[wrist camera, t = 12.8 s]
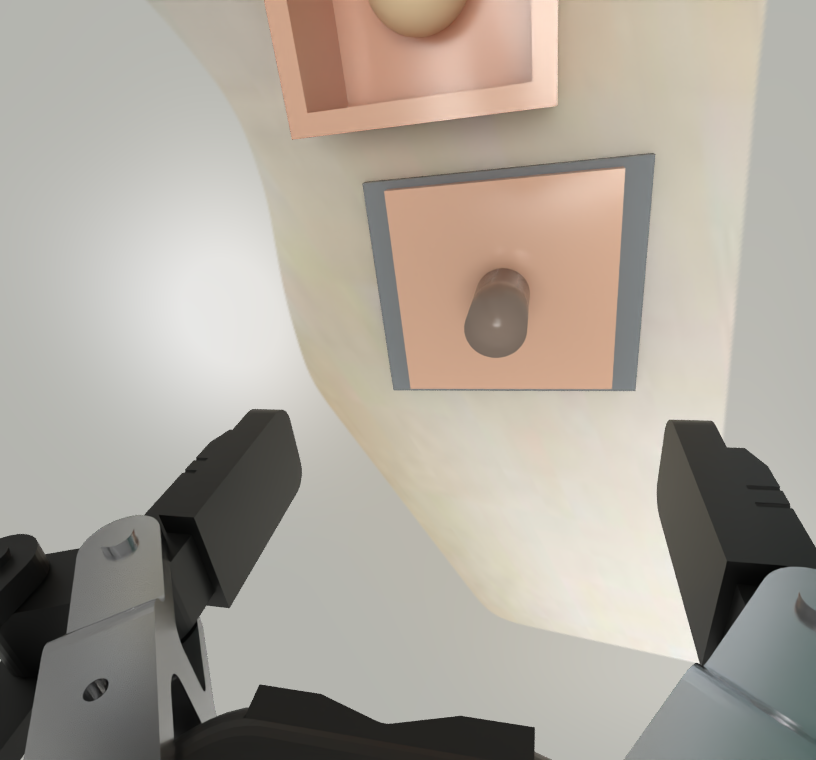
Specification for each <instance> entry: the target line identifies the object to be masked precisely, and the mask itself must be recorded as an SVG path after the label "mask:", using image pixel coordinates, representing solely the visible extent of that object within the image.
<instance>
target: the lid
mask: <svg viewBox="0 0 816 760" xmlns="http://www.w3.org/2000/svg"><path fill="white" fill-rule="evenodd" d="M624 183H625V167H624V166H621V167H611V168H601V169H590V170H580V171H570V172H559V173H549V174H538V175H528V176H518V177H507V178H497V179H487V180H476V181H466V182H456V183H445V184H435V185H424V186H414V187H404V188H393V189H387V190H385V191H384V194H385V202H386V209H387V217H388V224H389V232H390V239H391V246H392V254H393V261H394V269H395V276H396V284H397V291H398V298H399V306H400V313H401V321H402V328H403V336H404V343H405V351H406V358H407V365H408V373H409V380H410V388H411V389H612V380H613V364H614V347H615V331H616V315H617V298H618V282H619V265H620V249H621V232H622V216H623V199H624Z"/></svg>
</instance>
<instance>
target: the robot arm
mask: <svg viewBox="0 0 816 760" xmlns="http://www.w3.org/2000/svg"><path fill="white" fill-rule="evenodd" d="M301 476H302V468H301V462H300V458H299V454H298V450H297V446H296V442H295V438H294V434H293V430H292V426H291V422H290V418H289V416H288V414H287V412H286V411H284V410H267V409H252V410H250V411H249V412H248V413H247V414H246V415H245V416H244V417H243V418H242V420H241V421H240V422H239V423H238V424H237V425H236V426H235V428H234V429H233V430H229V431H227V432H225V433H224V434H223V435H221V436H219V437H218V438H216V439H215V440H213V441H211V442H210V443H209V444H208V445H207V446H206V447H205V448H204V450H203V451H202V452H201V453H200V454H199V455H198V456H197V457H196V461H195V460H194V461H193V462H192V463H191V464H190V465H189V466H188V467H187V468H186V469H185V473H182V474H181V475H180V476H179V477H178V478H177V479H176V480H175V482H174V483H173V484H172V485H171V486H170V487H169V488H168V489H167V490H166V491H165V493H164V494H163V495H162V496H161V497H160V498H159V499H158V500H157V501H156V503H155V504H154V505H153V506H152V507H151V508H150V509H149V510H148V511H147V512H146V514H145V515H135V516H129V517H125V518H122V519H119V520H116V521H113V522H111V523H109V524H107V525H105V526H104V527H102V528H100V529H99V530H98V531H96V532H95V533H94V534H92V535H91V536H90V537H89V538H88V539H87V540H86V541H85V542H84V543H83V545H82V546H81V547H80V548H79V549H74V550H68V551H62V552H57V553H51V554H44V552H43V550H42V548H41V547H40V545H39V544H38V542H37V540H36V538H34V537H33V536H30V535H27V534H26V535H25V534H17V535H11V536H7V537H3V538H0V659H1V662H0V760H20V759H21V758H22V757H23V755H24V760H551V759H549V758H547V757H544V756H542V755H540V754H538V753H536V752H534V740H535V728H534V727H528V726H522V725H516V724H509V723H502V722H496V721H490V720H484V719H477V718H471V717H464V716H455V717H447V718H438V719H429V720H420V721H412V722H402V723H394V724H384V723H380V722H377V721H375V720H373V719H371V718H369V717H367V716H365V715H363V714H361V713H359V712H357V711H354V710H353V709H351V708H348V707H346V706H344V705H342V704H340V703H338V702H336V701H334V700H332V699H330V698H328V697H326V696H324V695H322V694H317V693H311V692H304V691H297V690H291V689H285V688H278V687H272V686H266V685H259V687H258V689H257V691H256V693H255V696H254V698H253V700H252V702H251V704H250V706H249V708H243V709H239V710H235V711H231V712H227V713H225V714H222V715H219V716H217V715H216V711H215V706H214V701H213V694H212V687H211V679H210V673H209V666H208V658H207V651H206V644H205V637H204V630H203V625H202V622H201V619H200V617H199V616H200V615H201V613H202V611H203V610H204V608H205V606H206V605H207V606H216V607H225V608H230V606H231V605H232V603H233V601H234V599H235V598H236V596H237V594H238V593H239V591H240V589H241V587H242V586H243V584H244V582H245V581H246V579H247V577H248V575H249V574H250V572H251V570H252V569H253V567H254V565H255V564H256V562H257V560H258V558H259V557H260V555H261V553H262V552H263V550H264V548H265V546H266V545H267V543H268V541H269V540H270V538H271V536H272V534H273V533H274V531H275V529H276V528H277V526H278V524H279V523H280V521H281V519H282V517H283V516H284V514H285V512H286V510H287V509H288V507H289V505H290V504H291V502H292V500H293V499H294V497H295V495H296V493H297V492H298V489H299V487H300V483H301ZM657 505H658V512H659V517H660V520H661V524H662V528H663V531H664V535H665V538H666V542H667V546H668V549H669V553H670V557H671V560H672V564H673V567H674V571H675V575H676V578H677V582H678V586H679V589H680V593H681V596H682V600H683V604H684V607H685V611H686V615H687V618H688V622H689V626H690V629H691V633H692V636H693V640H694V644H695V647H696V651H697V655H698V658H699V662H700V664H698V663H695V664H694V665H692V666H691V667H690V668H689V669H688V670H687V672H686V673H685V674H684V676H683V677H682V678H681V680H680V681H679V682H678V684H677V685H676V687H675V688H674V689H673V691H672V692H671V694H670V695H669V697H668V698H667V699H666V701H665V702H664V704H663V705H662V706H661V708H660V710H659V711H658V712H657V714H656V715H655V716H654V718H653V719H652V721H651V722H650V723H649V725H648V726H647V728H646V729H645V731H644V732H643V733H642V735H641V736H640V738H639V739H638V740H637V742H636V743H635V745H634V746H633V747H632V749H631V750H630V752H629V753H628V754H627V756H626V757H625V759H624V760H816V547H815V545H814V544H813V542H812V540H811V539H810V537H809V535H808V534H807V532H806V530H805V528H804V527H803V525H802V523H801V522H800V520H799V519H798V517H797V515H796V513H795V512H794V510H793V509H792V508H790V503H789V501H788V500H787V498H786V496H785V495H784V493H783V491H780V486H779V484H778V483H777V481H776V479H775V478H774V476H773V474H772V473H771V471H770V469H769V468H768V466H767V465H765V464H764V463H763V462H762V461H760V460H759V459H758V458H757V457H755V456H754V455H753V454H751V453H750V452H749V451H748V450H746V449H745V448H727V447H726V445H725V443H724V441H723V439H722V437H721V435H720V433H719V431H718V429H717V427H716V426H715V424H714V423H713V422H712V421H698V420H669V421H668V422H667V424H666V428H665V433H664V440H663V447H662V454H661V461H660V468H659V475H658V482H657Z"/></svg>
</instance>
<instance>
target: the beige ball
mask: <svg viewBox="0 0 816 760" xmlns="http://www.w3.org/2000/svg"><path fill="white" fill-rule="evenodd" d="M466 1H467V0H368V2H369V4H370V6H371V8H372V10H373V12H374V13H375V14H376V16H377V17H378V18H379V20H380V21H381V22H382V23H383V24H384V25H386V26H387V27H388V28H389V29H391V30H392V31H394V32H396V33H398V34H400V35H403V36H407V37H414V38H420V37H427V36H431V35H434V34H436V33H438V32H440V31H442V30H443V29H445V28H446V27H447V26H449V25H450V24H451V23H452V22H453V21H454V20H455V19H456V17H457V16H458V15H459V13H460V12H461V10H462V9H463V7H464V5H465V3H466Z"/></svg>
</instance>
